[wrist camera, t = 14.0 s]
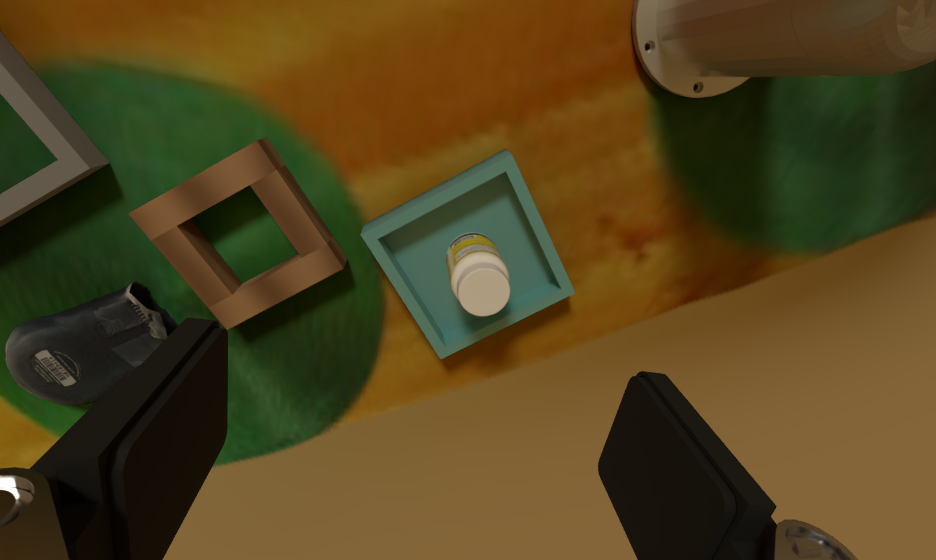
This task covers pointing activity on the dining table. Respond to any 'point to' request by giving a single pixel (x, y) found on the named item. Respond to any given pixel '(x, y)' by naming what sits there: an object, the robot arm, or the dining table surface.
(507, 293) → the supplement bottle
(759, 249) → the dining table surface
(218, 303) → the square wooden frame
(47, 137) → the gray rectangular frame
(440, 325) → the tray
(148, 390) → the robot arm
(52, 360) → the electronic device
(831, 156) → the dining table surface
